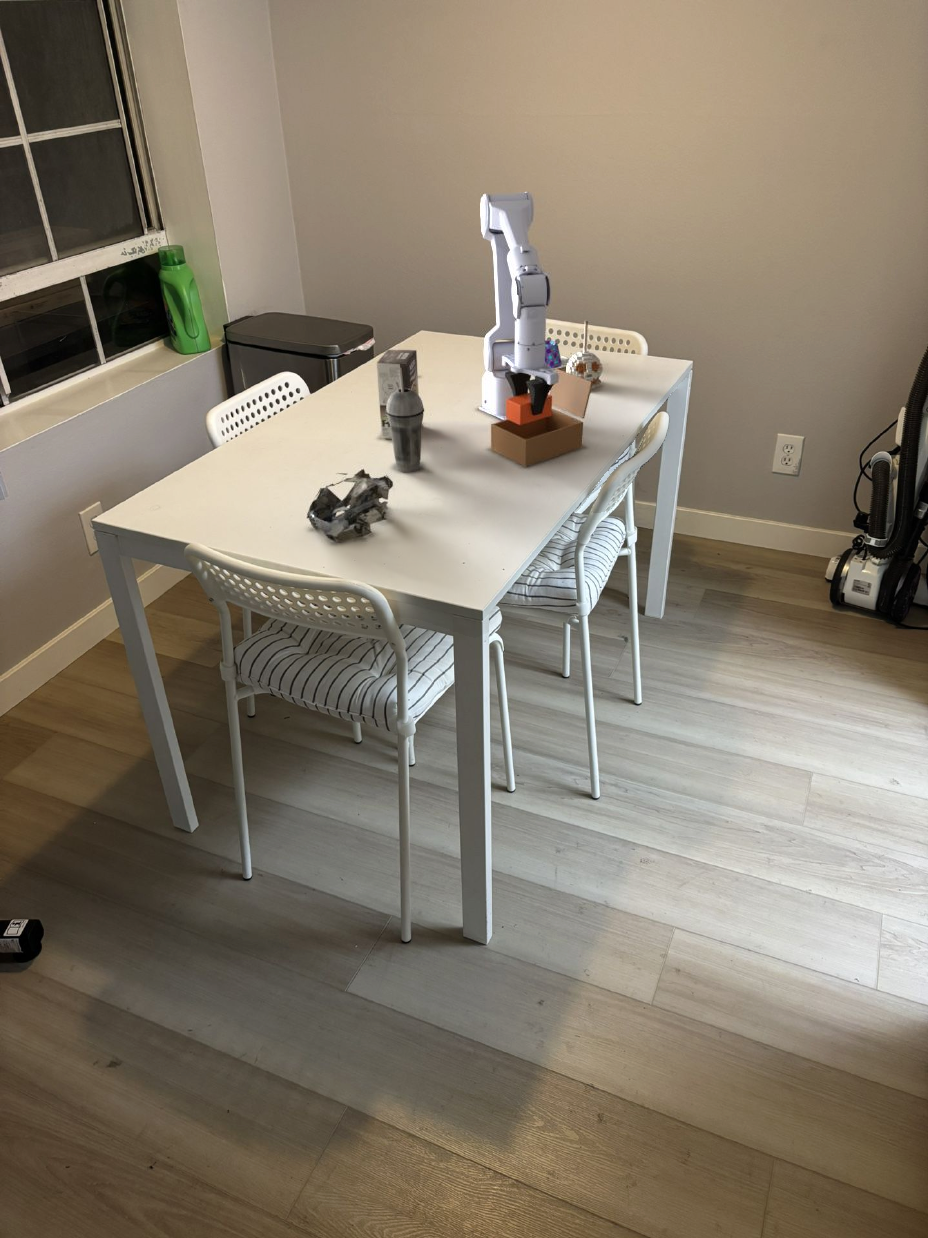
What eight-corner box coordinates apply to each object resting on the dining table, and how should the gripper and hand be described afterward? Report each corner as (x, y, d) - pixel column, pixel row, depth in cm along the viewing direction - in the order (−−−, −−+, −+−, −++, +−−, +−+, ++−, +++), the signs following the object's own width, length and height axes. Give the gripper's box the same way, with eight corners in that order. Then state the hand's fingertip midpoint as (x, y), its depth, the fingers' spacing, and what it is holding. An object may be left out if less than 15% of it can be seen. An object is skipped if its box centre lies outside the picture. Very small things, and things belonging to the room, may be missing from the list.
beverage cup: (432, 461, 187) (428, 361, 176) (418, 476, 181) (413, 374, 170) (398, 457, 189) (391, 358, 178) (383, 472, 184) (376, 370, 172)
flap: (547, 403, 195) (548, 403, 196) (582, 418, 188) (584, 418, 188) (555, 368, 192) (556, 368, 193) (591, 381, 185) (593, 382, 185)
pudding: (576, 369, 230) (577, 348, 228) (528, 374, 228) (528, 352, 226) (561, 354, 240) (562, 333, 237) (515, 359, 238) (515, 338, 235)
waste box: (546, 431, 199) (547, 406, 196) (582, 447, 191) (583, 421, 188) (491, 449, 192) (490, 424, 189) (525, 466, 184) (525, 440, 181)
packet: (505, 418, 187) (506, 399, 184) (537, 409, 190) (537, 389, 188) (520, 425, 184) (520, 405, 181) (551, 415, 187) (552, 395, 185)
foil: (298, 497, 167) (365, 447, 165) (336, 541, 173) (402, 493, 170) (298, 525, 157) (370, 472, 155) (339, 570, 163) (410, 520, 160)
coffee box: (411, 440, 196) (406, 363, 187) (380, 438, 197) (375, 362, 189) (421, 423, 204) (417, 349, 195) (392, 422, 205) (387, 347, 196)
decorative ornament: (572, 392, 217) (575, 326, 209) (562, 381, 224) (564, 317, 216) (604, 389, 219) (608, 323, 211) (593, 378, 225) (597, 314, 217)
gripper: (489, 336, 182) (490, 404, 189) (538, 354, 172) (537, 426, 179) (518, 329, 185) (517, 396, 193) (568, 346, 175) (565, 417, 183)
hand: (529, 410), depth 186 cm, fingers closed on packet, 4 cm apart
